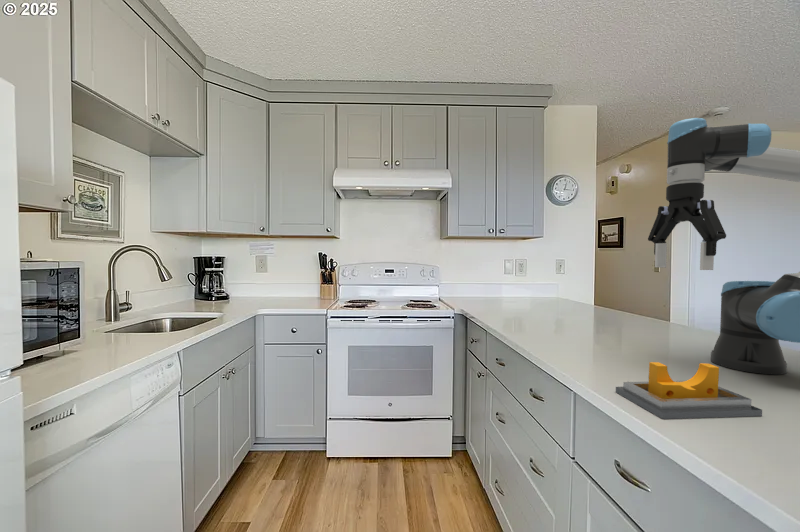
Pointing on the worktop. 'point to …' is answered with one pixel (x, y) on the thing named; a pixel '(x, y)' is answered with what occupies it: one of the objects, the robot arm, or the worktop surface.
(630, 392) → the rail plate
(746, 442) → the worktop surface
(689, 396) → the pipe clamp
